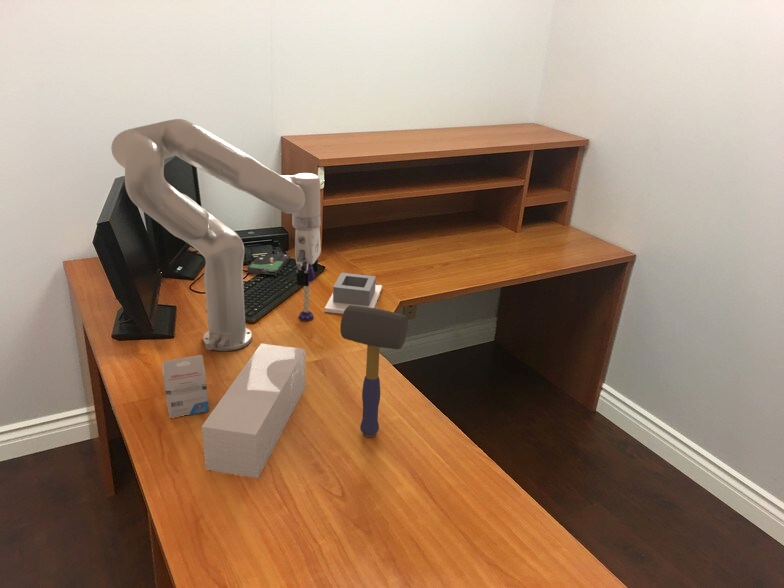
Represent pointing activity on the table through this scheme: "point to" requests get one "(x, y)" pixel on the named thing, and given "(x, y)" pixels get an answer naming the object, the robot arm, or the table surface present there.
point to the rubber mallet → (373, 351)
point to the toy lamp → (307, 297)
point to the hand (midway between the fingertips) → (307, 278)
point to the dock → (353, 292)
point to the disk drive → (268, 263)
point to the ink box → (185, 386)
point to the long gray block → (254, 411)
